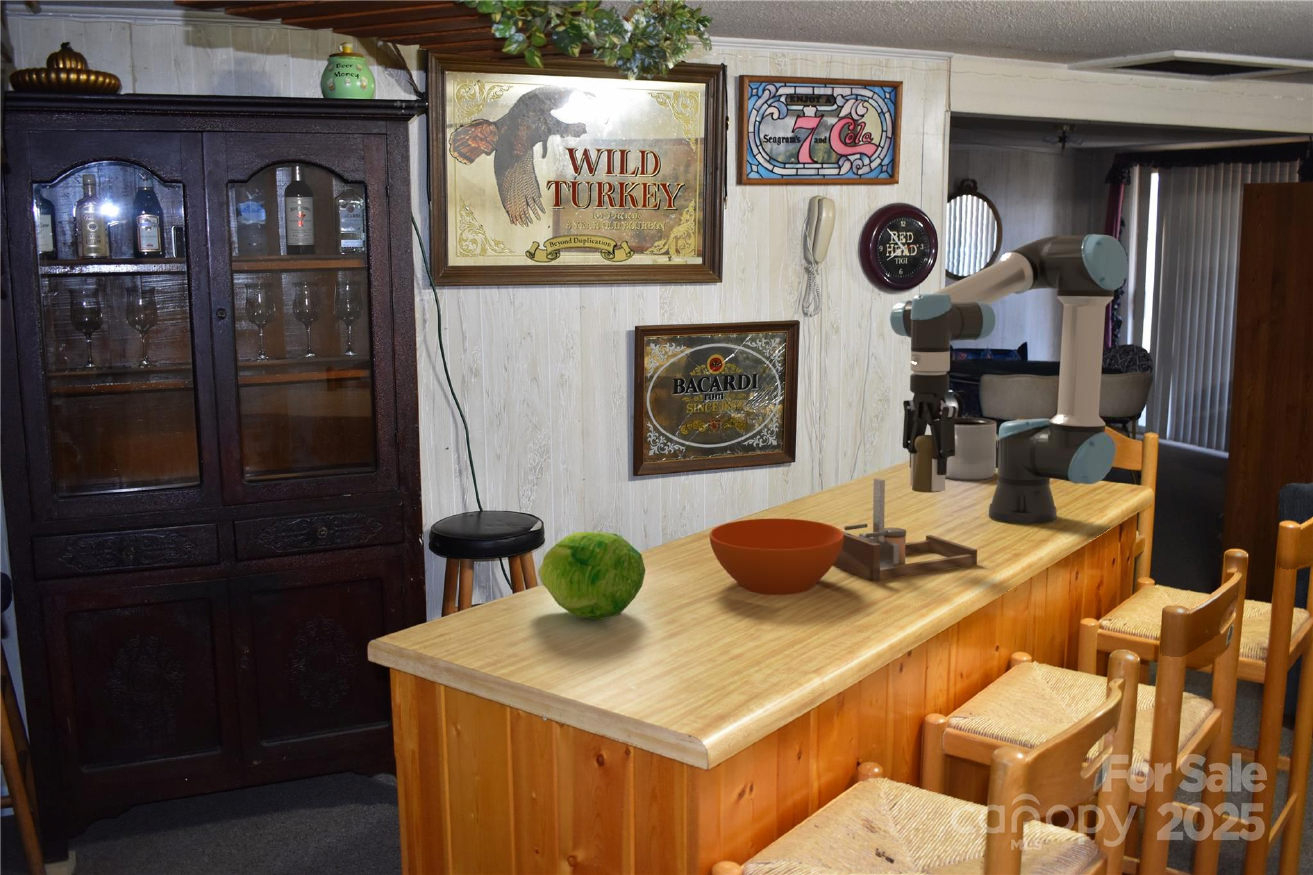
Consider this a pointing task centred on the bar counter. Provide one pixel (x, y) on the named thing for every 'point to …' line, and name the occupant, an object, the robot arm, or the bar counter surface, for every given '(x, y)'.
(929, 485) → the pepper mill
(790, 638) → the bar counter surface
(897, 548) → the pusher
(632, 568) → the lettuce
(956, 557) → the lane
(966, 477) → the planter
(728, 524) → the bowl
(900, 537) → the terracotta spice jar
